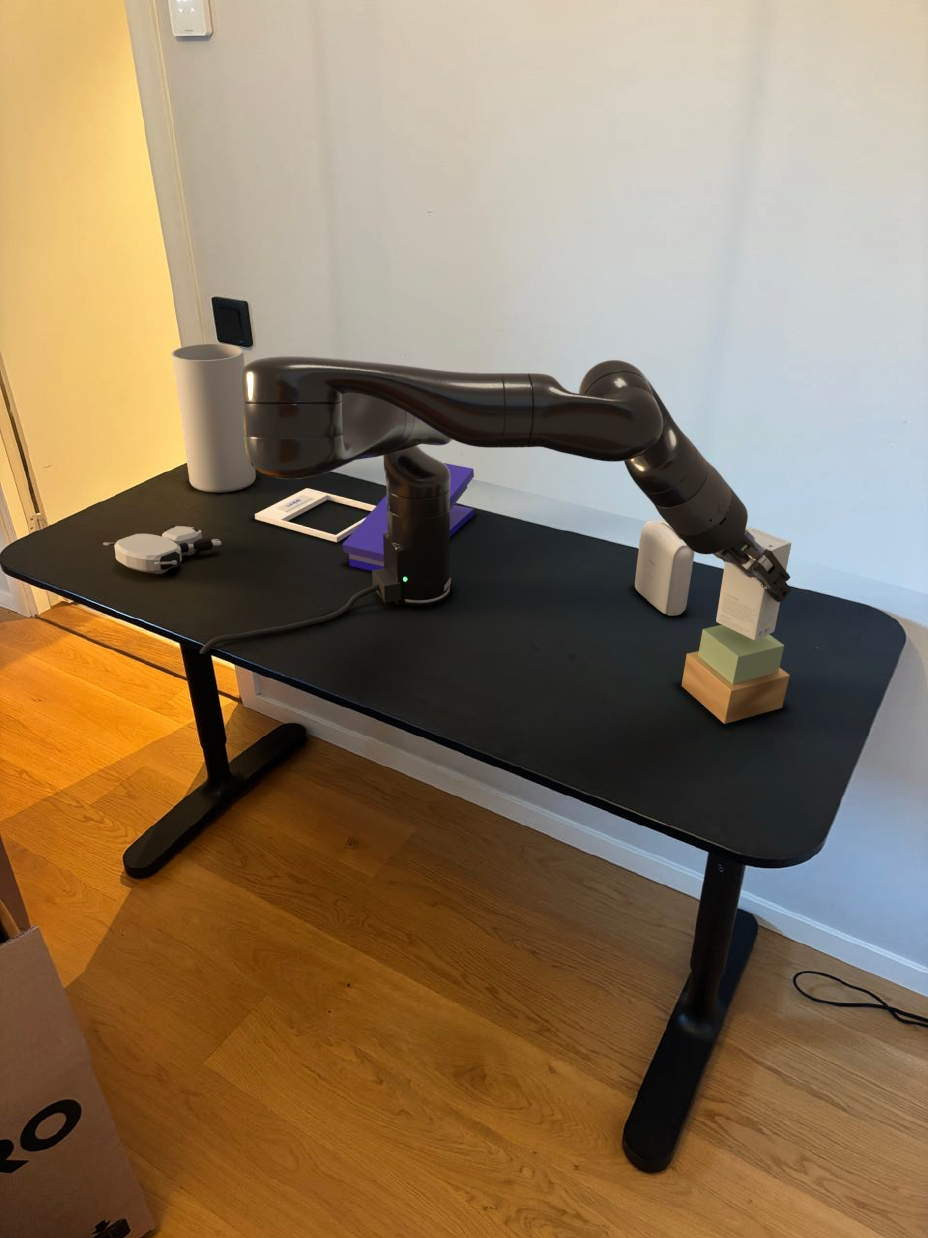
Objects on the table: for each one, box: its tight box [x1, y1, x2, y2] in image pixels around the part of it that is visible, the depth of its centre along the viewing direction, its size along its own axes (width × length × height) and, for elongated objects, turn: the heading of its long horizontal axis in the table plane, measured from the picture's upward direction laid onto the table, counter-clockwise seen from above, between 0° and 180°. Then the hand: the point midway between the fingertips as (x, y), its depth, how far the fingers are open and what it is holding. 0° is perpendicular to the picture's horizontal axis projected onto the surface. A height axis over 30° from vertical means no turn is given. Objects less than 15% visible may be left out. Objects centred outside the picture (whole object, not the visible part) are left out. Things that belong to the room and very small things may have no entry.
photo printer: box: [634, 519, 695, 616], centre depth 135 cm, size 10×4×12 cm, turn 20°
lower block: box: [681, 650, 791, 725], centre depth 115 cm, size 9×9×5 cm
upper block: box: [698, 624, 785, 684], centre depth 113 cm, size 7×7×4 cm
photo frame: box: [254, 487, 377, 543], centre depth 163 cm, size 15×1×18 cm
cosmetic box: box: [715, 526, 792, 641], centre depth 108 cm, size 6×4×12 cm
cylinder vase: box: [171, 343, 257, 494], centre depth 170 cm, size 12×12×25 cm
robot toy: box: [102, 524, 222, 575], centre depth 146 cm, size 12×4×15 cm
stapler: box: [342, 462, 475, 572], centre depth 153 cm, size 12×28×10 cm, turn 156°
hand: (762, 581), depth 109 cm, fingers closed on cosmetic box, 6 cm apart
